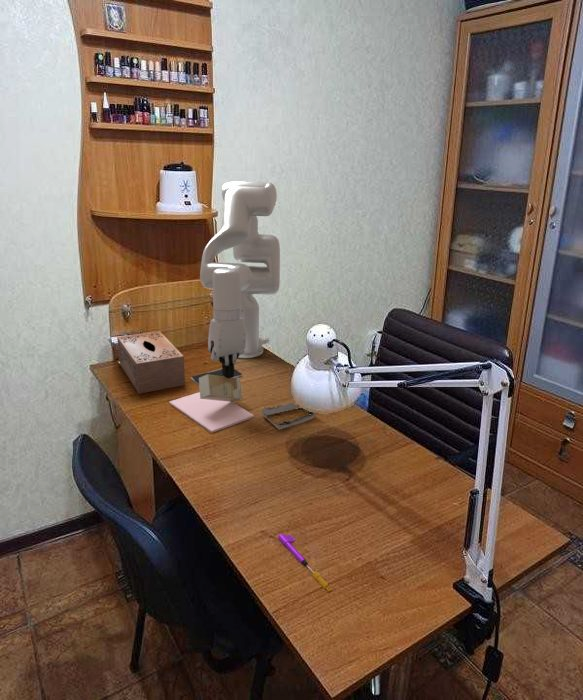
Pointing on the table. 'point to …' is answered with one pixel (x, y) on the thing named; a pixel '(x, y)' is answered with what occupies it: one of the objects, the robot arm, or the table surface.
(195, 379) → the smartphone
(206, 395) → the skincare box
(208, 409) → the nail mat
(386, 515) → the table surface
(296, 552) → the purple and yellow tool
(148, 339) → the tissue box cover
